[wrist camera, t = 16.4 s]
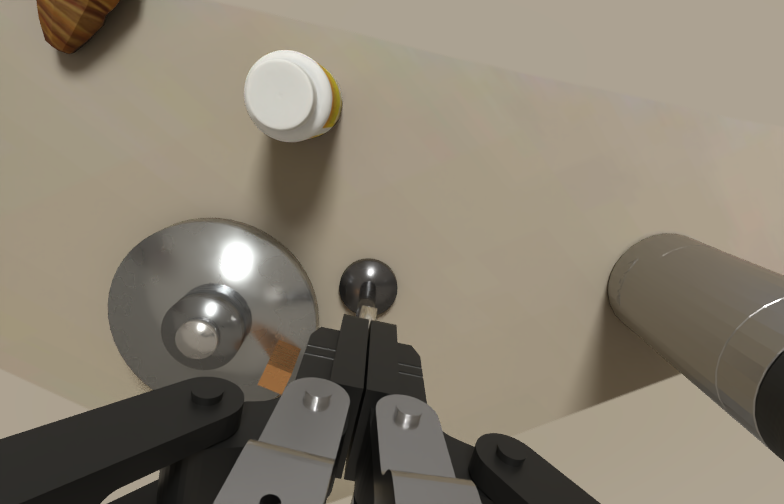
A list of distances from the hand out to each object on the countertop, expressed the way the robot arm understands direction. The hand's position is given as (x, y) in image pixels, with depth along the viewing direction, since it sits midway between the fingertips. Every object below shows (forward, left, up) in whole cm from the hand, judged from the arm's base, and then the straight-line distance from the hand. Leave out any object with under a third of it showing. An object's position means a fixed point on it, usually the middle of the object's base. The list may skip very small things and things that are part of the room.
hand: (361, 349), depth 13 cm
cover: (+11, +13, -24) cm, 29 cm away
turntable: (+11, +13, -26) cm, 31 cm away
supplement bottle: (+7, -6, -27) cm, 29 cm away
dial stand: (-1, +8, -27) cm, 28 cm away
